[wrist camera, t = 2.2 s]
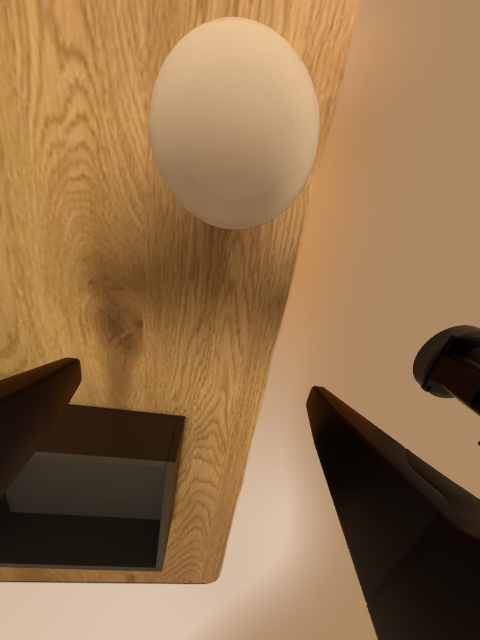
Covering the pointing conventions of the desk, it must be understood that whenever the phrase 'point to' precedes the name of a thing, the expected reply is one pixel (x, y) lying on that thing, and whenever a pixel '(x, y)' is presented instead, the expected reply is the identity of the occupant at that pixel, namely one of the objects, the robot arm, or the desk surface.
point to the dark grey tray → (95, 493)
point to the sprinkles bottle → (234, 123)
